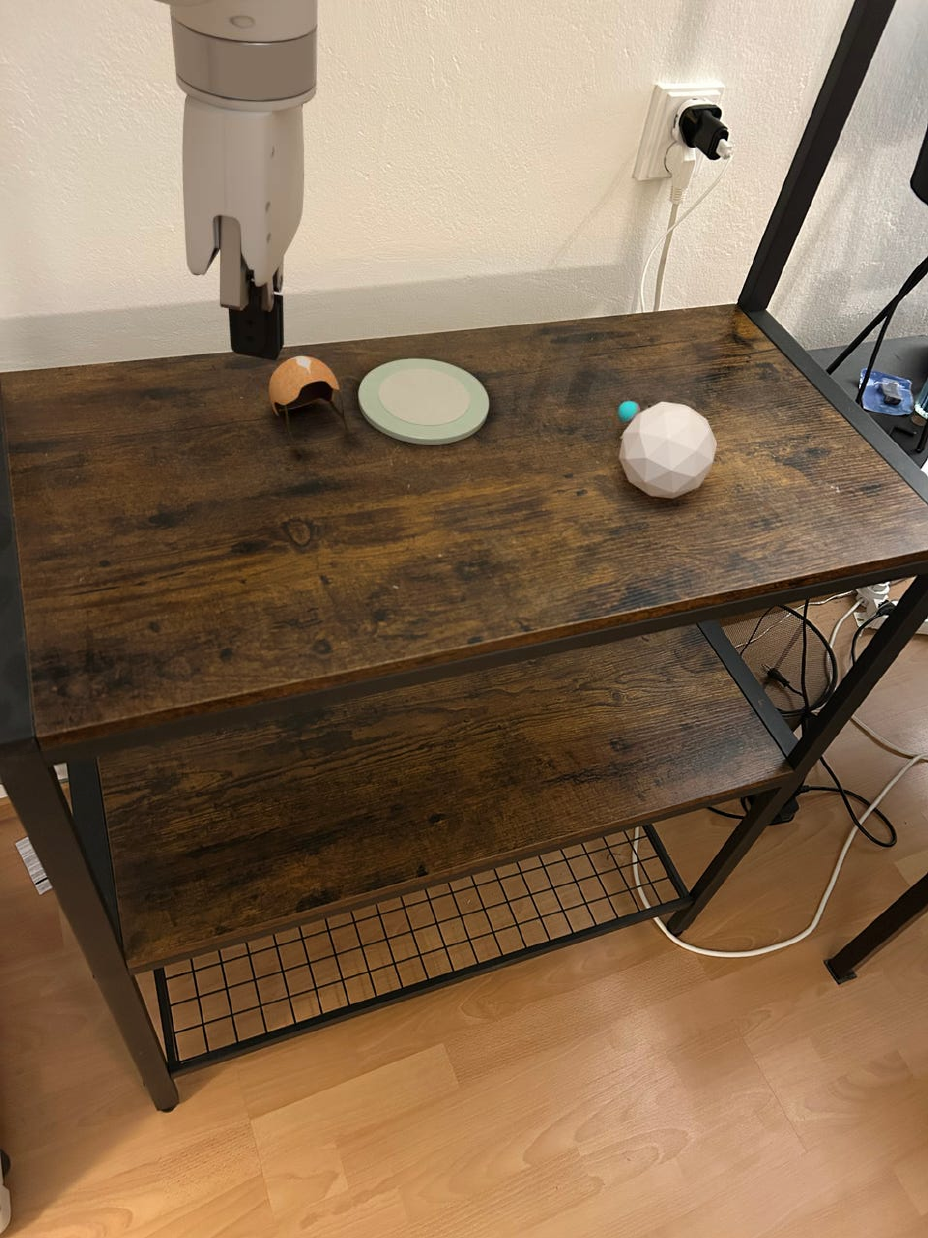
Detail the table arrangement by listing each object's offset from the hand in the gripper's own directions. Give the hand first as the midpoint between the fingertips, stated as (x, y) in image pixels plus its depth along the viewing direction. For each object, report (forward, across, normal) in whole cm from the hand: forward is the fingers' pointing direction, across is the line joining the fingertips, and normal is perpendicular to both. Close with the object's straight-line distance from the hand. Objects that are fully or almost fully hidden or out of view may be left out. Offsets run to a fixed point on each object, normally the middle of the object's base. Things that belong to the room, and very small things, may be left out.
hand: (257, 349), depth 66 cm
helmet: (+15, -12, 0) cm, 20 cm away
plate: (+15, -18, +10) cm, 26 cm away
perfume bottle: (+15, -14, +31) cm, 37 cm away
